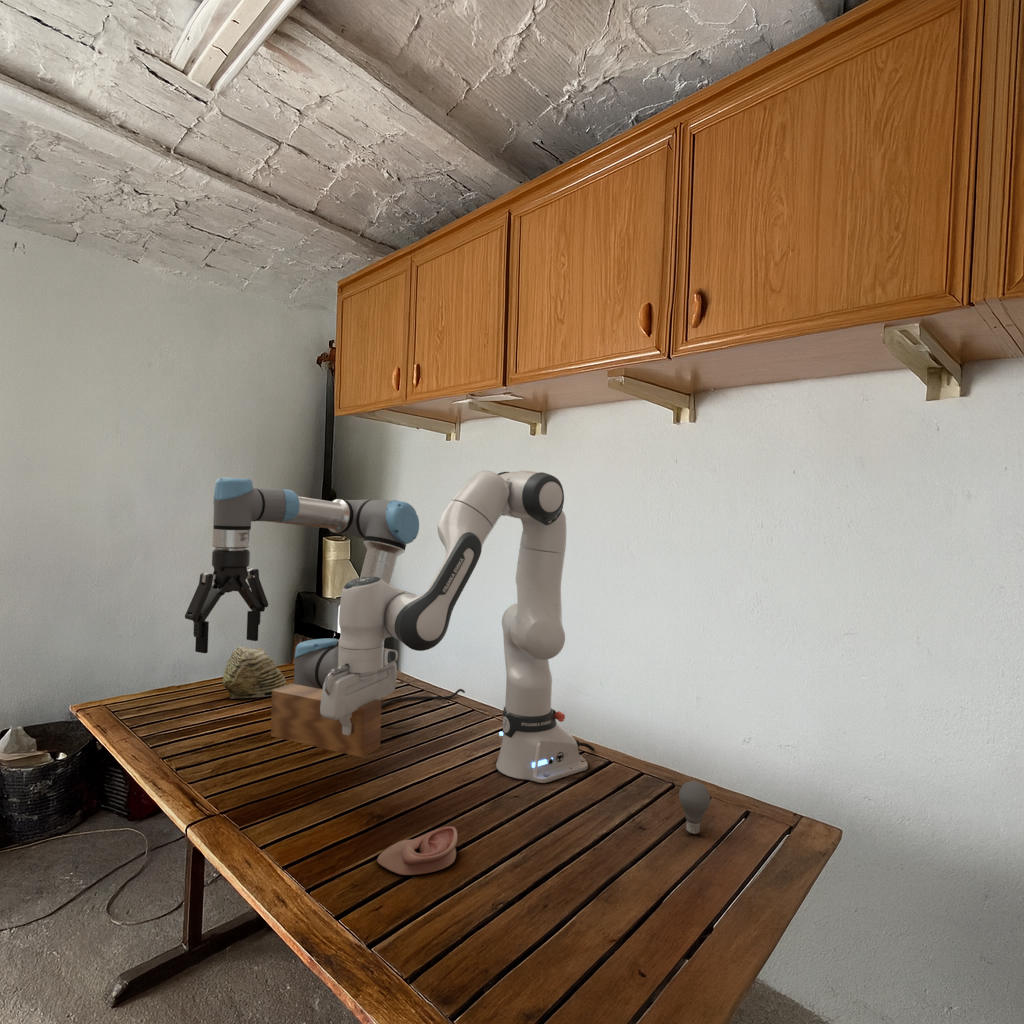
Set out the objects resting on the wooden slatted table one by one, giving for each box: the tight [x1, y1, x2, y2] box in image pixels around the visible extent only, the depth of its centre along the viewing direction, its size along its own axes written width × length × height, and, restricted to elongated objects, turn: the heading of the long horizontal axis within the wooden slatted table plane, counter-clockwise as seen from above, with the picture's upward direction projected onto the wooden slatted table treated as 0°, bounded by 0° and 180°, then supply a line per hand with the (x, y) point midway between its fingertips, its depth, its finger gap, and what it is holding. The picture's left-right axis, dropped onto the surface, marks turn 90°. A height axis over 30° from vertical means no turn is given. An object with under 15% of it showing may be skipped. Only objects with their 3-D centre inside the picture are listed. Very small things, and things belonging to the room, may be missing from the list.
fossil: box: [222, 646, 287, 699], centre depth 198 cm, size 9×18×15 cm, turn 132°
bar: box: [270, 683, 382, 758], centre depth 130 cm, size 23×6×10 cm, turn 67°
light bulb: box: [678, 780, 711, 835], centre depth 125 cm, size 6×6×10 cm
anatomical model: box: [376, 826, 459, 876], centre depth 112 cm, size 13×4×12 cm
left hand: (227, 646), depth 138 cm, fingers open, 13 cm apart
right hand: (359, 727), depth 126 cm, fingers closed on bar, 6 cm apart
